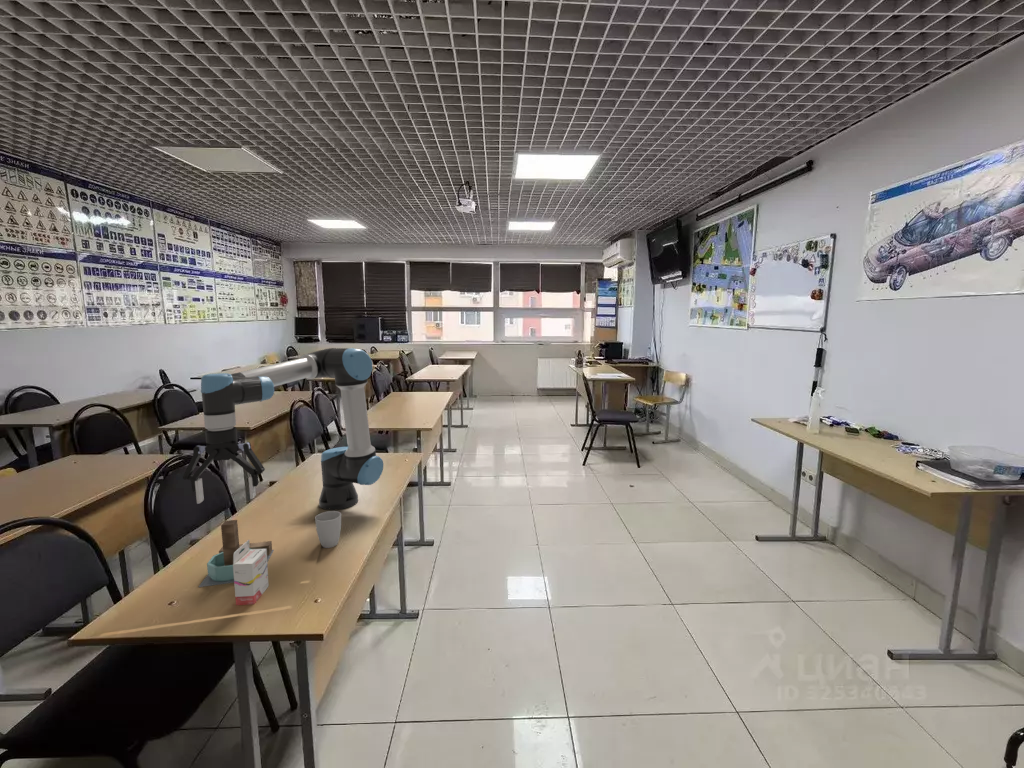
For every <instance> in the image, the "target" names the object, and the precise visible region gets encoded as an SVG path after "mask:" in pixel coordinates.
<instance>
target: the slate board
mask: <svg viewBox="0 0 1024 768" xmlns="http://www.w3.org/2000/svg"><path fill="white" fill-rule="evenodd" d="M274 551H275V549H272V552H271V554H270V555H267V563H268V562H269V560H270V558H271V556H272V554H273V553H274ZM233 583H234V580H230V581H223V582H218V581H213V580H212V579H211V578H210V576H208V574H207V575H206V576H205V577H204V579H203V580H202V582H201V583H200V584H199V586H198V588H204V587H211V586H218V585H226V584H233Z"/></svg>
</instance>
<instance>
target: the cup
mask: <svg viewBox="0 0 1024 768" xmlns="http://www.w3.org/2000/svg"><path fill="white" fill-rule="evenodd" d="M314 520H315V521H314V523H315V529H316V530H315V531H316V533H317V537H318V542H319V543H320V546H321V547H322V548H323V549H324V548H326V549H329V548H330V549H331V548H334V547H336V546H337V545H338V544H339V541H340V537H341V528H342V512H340V511H338V510H328V511H324V512H320V513H319V514H317V515H315V517H314Z"/></svg>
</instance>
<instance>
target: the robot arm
mask: <svg viewBox="0 0 1024 768" xmlns="http://www.w3.org/2000/svg"><path fill="white" fill-rule="evenodd" d="M373 368H374V367H373V362H372V359H371V357H370V355H369V354H368V353H367V352H366V351H365V350H363V349H359V348H354V347H349V348H348V347H346V348H345V347H344V348H343V347H342V348H341V347H337V348H336V347H329V348H325V349H320V350H317V351H312V352H309V353H306V354H302V355H301V356H300V357H299V358H296V359H291V360H287V361H282V362H278V363H275V364H274V363H273V364H270V365H264V366H259V367H256V368H253V369H252V368H251V369H247V370H243V371H238V372H235V373H227V372H226V373H224V372H223V373H220V372H219V373H208V374H207V373H206V374H204V375H202V377H201V378H200V392H201V400H202V401H201V402H202V410H203V421H204V429H206V430H205V434H204V435H205V443H206V445H201V444H198V445H195V447H193V449H192V450H193V453H192V457H191V459H190V461H189V463H188V464H187V467H186V468H185V471H184V473H183V475H182V479H183V480H184V481H185V480H187V481H190V483H191V491H192V492H194V493H195V496H196V497H195V498H196V504H197V505H198V504H201V503H202V502H203V501H204V500H205V498H204V497H205V496H204V488H203V478H202V477H201V478H200V476H201V475H202V474H203V472H204V471H205V470H206V469H207V468H208V467H209V466H210V464H211V463H212V462H213V461H216V462H218V461H219V462H220V461H229V460H232V461H233V462H235V463H236V464H238V465H239V466H240V467H241V468H242V469H243V470H244V471H246V472H247V473H248V474H249V475H250V476H248V485H249V498H250V499H251V500H252V499H254V498H255V497H256V495H257V490H256V487H257V486H258V485H259V484H260V483H259V475H260V474H263V473H264V472H265V470H266V468H265V466H264V465H263V464H262V462H261V461H260V459H259V458H258V456H257V455H256V453H255V452H254V450H253V449H252V445H251V442H250V441H246V442H245V443H239V441H238V431H237V427H236V425H237V419H236V418H237V417H236V409H235V408H236V406H238V405H242V404H243V405H245V404H250V403H257V402H263V401H268V400H271V398H273V396H274V395H275V387H278V386H281V385H285V384H289V383H292V382H296V381H300V380H303V379H307V380H314V379H319V378H326V379H327V378H328V379H334V381H335V383H334V384H335V386H336V387H337V388H338V389H339V390H340V395H341V403H342V410H343V411H342V412H343V419H344V420H343V421H344V427H345V434H346V443H347V446H338V447H333V448H330V449H329V448H328V449H327V450H324V451H323V452H322V453H321V455H320V456H321V457H320V465H321V466H320V467H321V481H322V487H321V492H320V496H319V499H318V506H319V508H321V509H322V508H323V510H328V511H336V510H335V509H337V510H343V509H346V508H350V507H352V505H353V506H354V505H356V504H357V503H358V502H357V501H359V495H358V492H357V490H356V487H355V484H357V485H360V486H372V485H373V484H375V483H377V481H378V480H379V479H380V478H381V475H382V473H383V472H384V460H383V459H382V457H380V456H378V455H377V452H376V448H375V446H373V445H372V443H371V435H370V426H369V418H368V409H367V401H366V400H367V399H366V393H365V392H366V391H365V386H366V385H367V384H368V382H369V381H368V379H369V378H370V377H371V375H372V372H373ZM239 450H241V451H243V452H244V454H245V455H246V457H247V459H248V460H249V461H248V460H246V459H245V458H244V457H243V456H242V455H241V453H239V452H238V451H239ZM204 452H206V453H207V454H208V456H207V458H206V459H205V461H203V463H202V464H201V465H200V466H199V467H198V468H197V470H196V471H195V472H194V470H195V469H196V466H197V464H198V462H199V460H200V458H201V456H202V454H203V453H204ZM193 472H194V473H193ZM355 503H356V504H355Z"/></svg>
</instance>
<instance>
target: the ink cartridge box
mask: <svg viewBox="0 0 1024 768" xmlns="http://www.w3.org/2000/svg"><path fill="white" fill-rule="evenodd" d="M249 543H250V539H247V541H245V542H243V545H242V546H241V547H240V548H238V549H237V550H236V551H235V552H234V554H233V573H234V596H235V597H234V598H235V606H243V605H244V606H245V605H246V606H247V605H255V604H256V603H257V601H259V599H260V598H261V596H262V595H263V594H264V593H265V591H266V590H267V589H268V588H269V569H268V562H267V549H250V550H249ZM243 548H244V550H243V551H242V552H241V553H240V554H239V552H240V551H241V549H243Z"/></svg>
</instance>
